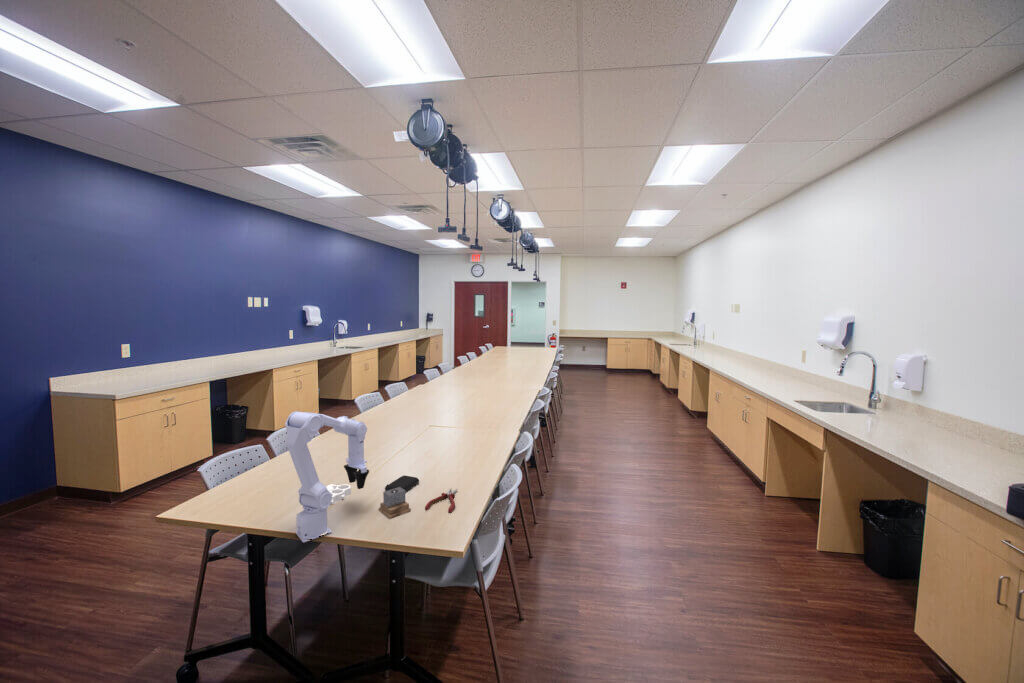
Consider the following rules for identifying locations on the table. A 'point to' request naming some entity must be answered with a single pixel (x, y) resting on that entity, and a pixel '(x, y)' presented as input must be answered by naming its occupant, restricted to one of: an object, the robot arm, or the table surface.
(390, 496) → the block
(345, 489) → the white brass knuckles
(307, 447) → the robot arm
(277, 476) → the table surface
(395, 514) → the stand
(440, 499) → the pliers
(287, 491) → the table surface
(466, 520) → the table surface
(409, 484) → the carrying case or bag
